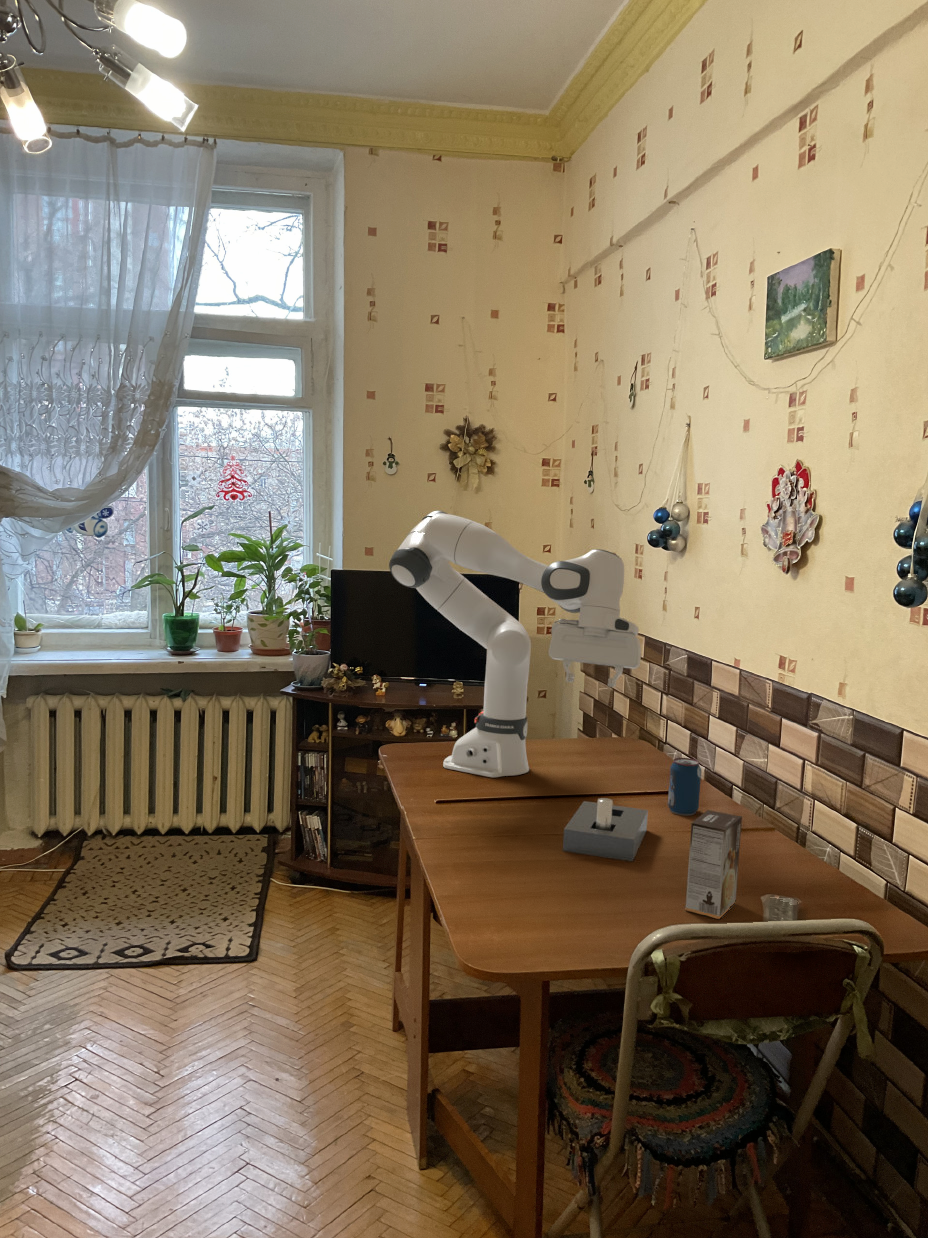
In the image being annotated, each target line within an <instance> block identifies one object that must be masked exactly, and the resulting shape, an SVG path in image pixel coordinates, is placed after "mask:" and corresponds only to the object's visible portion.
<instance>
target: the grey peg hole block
mask: <svg viewBox="0 0 928 1238" xmlns="http://www.w3.org/2000/svg"><path fill="white" fill-rule="evenodd" d="M597 803H598V802H594V801H593V802H592V801H585V800H583V801H582V802H581V804H580V806H579V807H578V809H577V810H576V812H575V813H574V814H573V816H572V817H571V818H570V820H569V821H568V823H567V824H566V826H564V829H563V840H562V841H563V843H562V851H563V852H569V853H576V854H581V855H589V856H594V857H600V858H606V859H607V858H608V859H612V858H613V860H619V859H621V860H620V861H625V860H628V861H627V862H631V861H633V862H634V860H635V858H634V857H636V855H637V853H638V851H637V850H639V849H640V846H641V844H642V842H643V839H644V837H645V835H646V832H647V829H648V828H647V827H648V818H649V817H648V816H649V815H648V813H649V810H648V809H642V808H634V807H629V806H622V805H621V806H620V805H615V804H612V819H611V831H605V830H598V829H596V819H597ZM641 841H642V842H641ZM638 848H639V849H638ZM633 859H634V860H633Z"/></svg>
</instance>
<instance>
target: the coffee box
mask: <svg viewBox="0 0 928 1238" xmlns="http://www.w3.org/2000/svg"><path fill="white" fill-rule="evenodd" d="M742 819H743V816H741V815H736V814H730V813H726V812H721V811H715V810H708V809H707V810H706V811H705V812H703V813H702V814H701V815H700V816H698V817H697V818H696V819H694V820H693V821H692V822H691V823H690V825H691V827H690V840H689V852H688V854H689V855H688V869H687V883H686V884H687V885H686V897H685V909H686V908H689V909H693V910H697V911H701V912H704V913H709V914H713V915H717V916H721V915H722V914H723V913H724V912H725V911H726V910H727V909H728V908H729V907H730V906H731V905H732V904H733V903H734V902H735V900H736V901H737V887H738V886H737V885H738V873H739V862H740V861H739V860H740V849H741V832H742V821H743V820H742ZM735 903H736V902H735Z"/></svg>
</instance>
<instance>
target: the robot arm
mask: <svg viewBox="0 0 928 1238" xmlns="http://www.w3.org/2000/svg"><path fill="white" fill-rule="evenodd" d="M450 563H452V564H454V565H457V566H459V567H462V568H464V569H467V570H470V571H475V572H478V573H483V574H487V575H492V576H496V577H499V578H500V577H501V578H505V579H508V580H512V581H515V582H518V583H520V584H523V585H525V586H527V587H529V588H532V589H534V590H536V591H539V592H541V593H543V594H545V595H546V596H547V598H549V599H550V600H551V601H552V602H554V603H555V604H557V605H558V606H559V607H560V608H561V609H562V610H564V611H565V612H568V613H571V614H576V613H577V614H579V615H578V620H577V619H564V618H559V620H555V621H554V622H553V623H552V626H551V629H550V630H551V631H550V633H551V636H552V637H551V639H550V641H549V642H550V643H549V648H548V656H549V657H550V658H551V659H552V660H559V661H562V667H563V669H564V671H565V673H566V674H565V682H569V683H574V681H575V680H574V678H575V674H574V673H571V670H570V667H571V666H572V663H573V662H574V663H583V664H591V665H599V666H607V667H614V671H615V672H616V673H615V674H614V675H613V676H612V678H611V677H609V678H608V679H607V687H609V688H616V685H617V680H618V679H619V678H620V676H621V675H622V674H623V670H624V668H625V669H632V670H636V669H637V668H639V667H640V665H641V658H642V656H641V655H642V651H641V650H642V647H641V642H640V639H639V638H638V637H637V636H638V634H639V631H640V630H639V627H638V626H637V625H636V624H635V623H633V622H632V621H630V620H627V619H625V618H622V617H621V616H620V614H621V607H620V601H621V597H622V595H623V591H624V584H625V583H624V582H625V564H624V561H623V560H622V558H621V557H620V555H617V554H616V553H613V552H612V551H609V550H604V549H600V548H599V549H597V548H596V549H595V548H594V549H591V550H590V551H589V552H586V553H585V554H583V555H581V556H578V557H576V558H570V559H567V560H558V561H554V562H552V563H551V564H549V565H547V564H545V563H542V562H540V561H537V560H535V559H533V558H530V557H528V556H526V555H525V554H523V553H522V552H521V551H519V550H518V549H517V548H516V547H514V546H513V545H512V544H511V543H509V542H508V540H506V539H505V538H504V537H502V535H501V534H498V532H496V531H494V530H493V529H491V528H489V527H487V526H486V525H484V524H481V523H479V522H477V521H474V520H471V519H468V518H465V517H462V516H459V515H454V514H450V513H448V512H446V511H444V510H443V511H442V510H434V511H431V512H429V513H428V514H427V515H425V516H424V517H423V518H422V519H421V520H420V522H418V524H417V525H415V526H414V527H413V528H412V529H411V531H410V532H409V533H408V534H407V536H406V537H405V538H404V540H403V541H402V543H401V544H400V546H399V547H398V549H397V550H395V551H394V552H393V554H392V556H391V558H390V559H389V563H388V568H389V571H390V573H391V575H392V577H393V579H395V580H396V582H397V583H399V584H401V585H402V586H404V587H406V588H409V589H410V588H411V589H416V590H417V592H418V593H419V594H420V595H421V596H422V597H423V598H424V600H425V601H426V602H427V603H429V605H431V607H433V608H434V609H435V610H437V612H438V613H440V614H441V615H442V616H443V617H444V618H445V619H447V620H448V621H449V622H450V623H452V624H453V625H454V626H455V627H456V628H458V629H459V631H462V632H463V633H464V634H466V635H467V636H469V637H470V638H471V639H472V640H474V641H475V642H477V643H478V645H480V646H482V647H483V648H484V649H486V662H485V663H486V664H485V675H484V676H485V677H484V691H483V693H484V694H483V695H484V696H483V710H482V711H481V712H479V713H478V715H477V716H475V718H474V724H475V727H474V728H472V729H471V730H470V731H468V732H467V733H465V734H464V735H463V736H461V737H459V738H458V739H457V740H456V741H455V744H454V745H453V748H452V753H451V755H448V756H447V757H446V758H444V760H443V764H442V765H443V767H444V769H448V770H454V771H458V772H462V773H469V774H473V775H478V776H482V777H488V778H499V777H500V778H501V777H505V776H506V777H508V776H519V775H522V774H526V773H528V772H529V771H530V767H529V762H528V757H527V749H526V738H527V736H528V735H527V734H528V717H527V697H528V695H527V694H528V685H529V684H528V682H529V675H530V674H529V673H530V662H531V651H532V641H531V638H530V636H529V633H528V631H527V630H526V628H525V626H524V625H523V624H522V623H521V622H520V621H519V620H517V619H516V618H515V616H512V615H511V614H510V613H509V612H507V610H505V609H504V608H503V607H501V606H500V605H499V604H497V603H496V602H495V601H494V600H492V599H491V598H489V596H488V595H487V594H485V593H483V592H482V590H480V589H479V588H477V586H475V585H474V584H473V583H472V582H471V581H469V579H467V578H466V577H465V576H464V575H463V574H461V573H460V572H459V571H457V570H456V569H455V568H453V566H451V564H450Z"/></svg>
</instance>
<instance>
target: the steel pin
mask: <svg viewBox="0 0 928 1238" xmlns="http://www.w3.org/2000/svg"><path fill="white" fill-rule="evenodd" d="M596 803H597V819H596V829H598V830H605V831H611V819H612V805H613V799H611V798H607V797H601V798H598V799H597V802H596Z"/></svg>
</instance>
